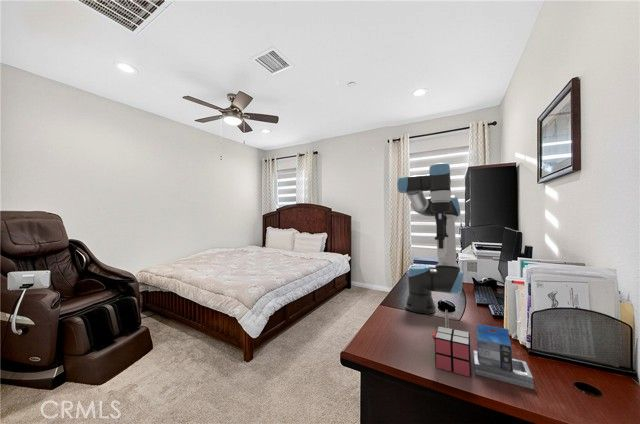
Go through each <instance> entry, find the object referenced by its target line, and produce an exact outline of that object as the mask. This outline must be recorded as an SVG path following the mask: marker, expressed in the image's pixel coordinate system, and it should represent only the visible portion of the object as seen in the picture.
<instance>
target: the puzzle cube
mask: <svg viewBox="0 0 640 424" xmlns="http://www.w3.org/2000/svg"><path fill="white" fill-rule="evenodd" d="M435 332H436V334H435V338H434V337H433V338H434V360H435V361H434V362H435V363H434V364H435V366H434V367H435V368H436V369H440V370H443V371H447V372H450V373H452V372H453V373H454V374H458V375H461V376H464V377H468V378H471V377H472V358H471V357H472V354H471V334H470V332H469V331H464V330H463V331H462V330H458V329H453V328H450V327H449V328H445V326H444V327H443V326H438V327H437V328H436V331H435Z"/></svg>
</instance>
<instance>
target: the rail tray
mask: <svg viewBox="0 0 640 424" xmlns="http://www.w3.org/2000/svg"><path fill="white" fill-rule="evenodd" d="M473 362H474V363H473V364H474V373H475V375H478V376H481V377H485V378H489V379H492V380H496V381H501V382H504V383H507V384H513V385H516V386H519V387H523V388H527V389H531V390H535V386H534V377H533V375H532V373H531V370H530V368H529V366H528V363H527V362H526V361H525V360H520V359H515V358H512V363H513V371H510V370H506V369H502V368H498V367H493V366H489V365H485V364H481V363H479V361H478V350H476V349H475V350H474V349H473Z"/></svg>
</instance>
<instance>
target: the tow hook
mask: <svg viewBox="0 0 640 424" xmlns="http://www.w3.org/2000/svg"><path fill="white" fill-rule="evenodd" d="M444 325H445V326H444V328H449V329H450V327H449V315H448V309H445V313H444ZM435 334H436V331H434V332H433V333H432V337H433V338H435Z"/></svg>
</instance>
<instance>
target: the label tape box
mask: <svg viewBox="0 0 640 424" xmlns="http://www.w3.org/2000/svg"><path fill="white" fill-rule="evenodd" d="M476 330H477V331H476V340H477V351H478V361H479V363H481V364H485V365H489V366H493V367H498V368H502V369H506V370H510V371H513V363H512V359H513V348H512V347H513V346H512V344H511V338H510V329H508V328H503V327H497V326H490V325H485V324H479V323H477V324H476ZM492 330H493V331H492Z"/></svg>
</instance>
